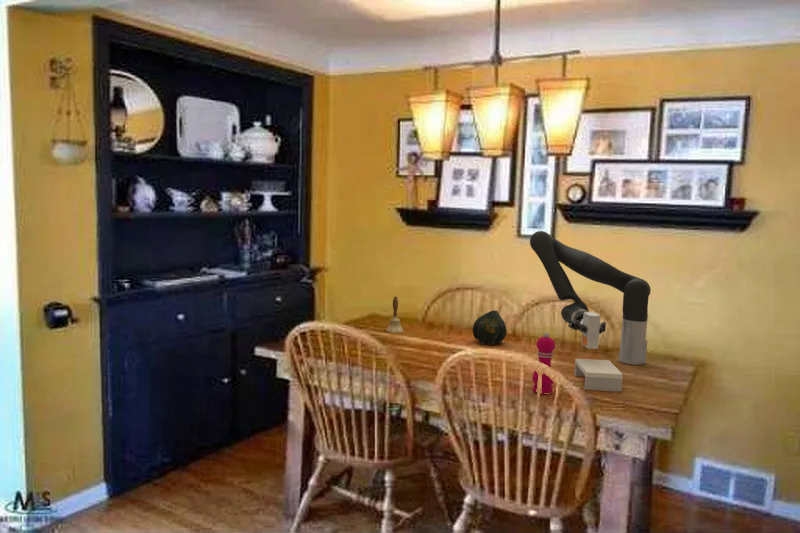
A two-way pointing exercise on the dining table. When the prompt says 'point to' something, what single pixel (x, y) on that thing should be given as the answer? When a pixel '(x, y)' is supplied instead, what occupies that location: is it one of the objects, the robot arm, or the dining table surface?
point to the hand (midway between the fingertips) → (592, 330)
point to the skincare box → (591, 330)
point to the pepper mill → (544, 361)
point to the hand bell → (395, 320)
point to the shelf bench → (599, 374)
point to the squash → (489, 328)
